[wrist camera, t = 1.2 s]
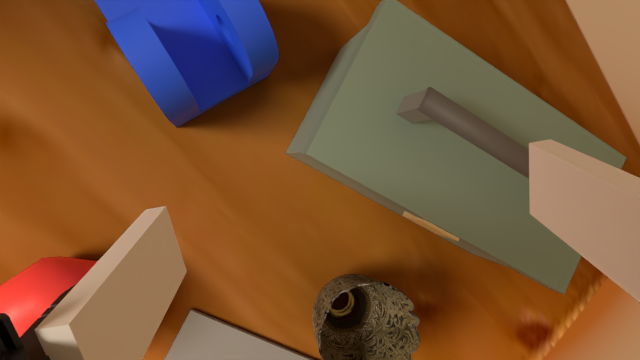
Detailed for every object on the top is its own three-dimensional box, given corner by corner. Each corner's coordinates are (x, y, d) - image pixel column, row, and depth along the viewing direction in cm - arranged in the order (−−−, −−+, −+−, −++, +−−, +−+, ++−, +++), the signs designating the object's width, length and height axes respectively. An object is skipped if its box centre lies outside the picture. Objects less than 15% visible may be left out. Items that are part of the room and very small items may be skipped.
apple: (144, 331, 33) (123, 384, 25) (31, 363, 31) (-29, 430, 24) (119, 233, 32) (89, 256, 25) (2, 260, 31) (-70, 294, 23)
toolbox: (277, 157, 35) (319, 156, 21) (338, 41, 36) (416, -33, 22) (473, 261, 40) (610, 316, 26) (522, 158, 41) (681, 157, 27)
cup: (349, 240, 37) (385, 261, 29) (394, 304, 38) (440, 341, 30) (279, 293, 36) (298, 331, 28) (328, 358, 37) (358, 412, 29)
